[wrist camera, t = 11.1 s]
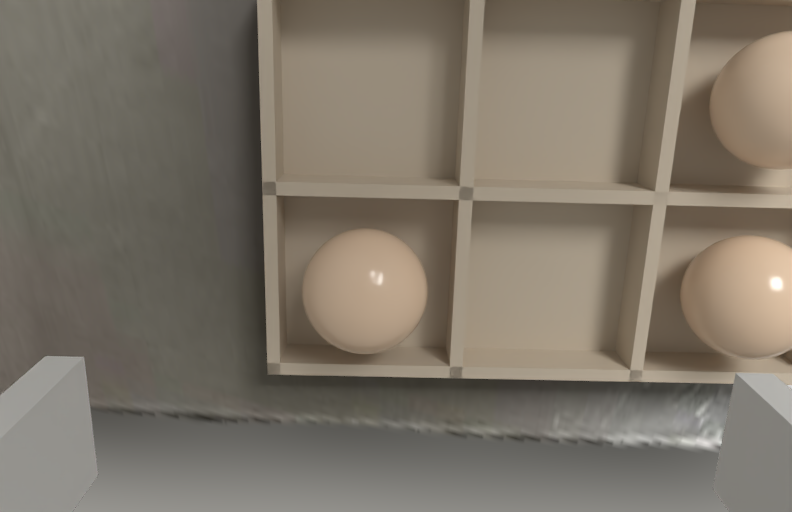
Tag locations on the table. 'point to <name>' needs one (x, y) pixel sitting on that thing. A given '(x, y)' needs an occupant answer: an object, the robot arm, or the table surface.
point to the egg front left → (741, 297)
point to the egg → (364, 291)
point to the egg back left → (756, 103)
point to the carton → (512, 178)
